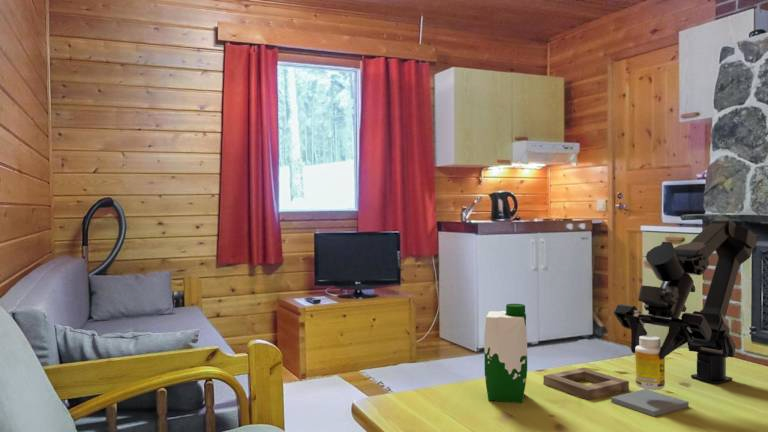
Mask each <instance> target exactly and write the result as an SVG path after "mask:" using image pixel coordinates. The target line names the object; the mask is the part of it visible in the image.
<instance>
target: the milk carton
mask: <svg viewBox="0 0 768 432" xmlns="http://www.w3.org/2000/svg"><path fill="white" fill-rule="evenodd" d="M527 331H528V330H527V315H526V305H525V304H522V303H507V304H506V305H505V310H501V311H493V310H492V311H491V310H489V311H488V312H487V314H486V316H485V324H484V332H483V333H484V335H483V336H484V337H483V338H484V339H483V340H484V341H483V342H484V344H483V345H484V346H483V347H484V380H485V386H486V387H485V388H486V394H487V400H488V401H490V400H495V401H494V402H502V403H503V402H504V403H505V402H506V403H519V404H523V402H524V401H523V399H524V397H525V389H526V385H527V378H528V376H527V375H528V334H527V333H528V332H527Z"/></svg>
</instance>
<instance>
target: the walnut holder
mask: <svg viewBox="0 0 768 432" xmlns="http://www.w3.org/2000/svg"><path fill="white" fill-rule="evenodd" d="M581 381H586V382H590V383H592V384H587V385H586V384H583V383H581ZM543 385H544V386H547V387H551V388H553V389H557V390H559V391H562V392H565V393H567V394H571V395H573V396H576V397H579V398H582V399H585V400H587V401H588V400H593V399H597V398H602V397H606V396H611V395H614V394H618V393H619V394H620V393H622V392H627V391H629V390H630V381H629V380H626V379H623V378H620V377H616V376H614V375H613V376H612V375H610V374H606V373H602V372H599V371H596V370H592V369H589V368H586V367H581V368H575V369H571V370H570V369H569V370H566V371H559V372H555V373H550V374H546V375H545V374H544V375H543Z"/></svg>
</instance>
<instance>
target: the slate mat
mask: <svg viewBox="0 0 768 432" xmlns="http://www.w3.org/2000/svg"><path fill="white" fill-rule="evenodd" d="M610 398H611V401H610V402H611V403H613V404H616V405H619V406H621V407H625V408H628V409H631V410H634V411H637V412H640V413H641V414H646V415H648V416H652V417H656V416H661V415H664V414H668V413H671V412H674V411H678V410H681V409H685V408H689V401H687V400H684V399H680V398H677V397H674V396H670V395H666V394H664V393H661V392H657V391H654V390H650V389H644V388H642V389H640V390H636V391H631V392H628V393H624V394H619V395H615V396H611V397H610ZM660 414H661V415H660Z"/></svg>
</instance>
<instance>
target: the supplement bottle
mask: <svg viewBox="0 0 768 432" xmlns="http://www.w3.org/2000/svg"><path fill="white" fill-rule="evenodd" d="M639 344H640V345H637V346H636V347H635V353H634V357H635V358H634V362H635V364H634V365H635V371H634V372H635V373H634V374H635V379H634V380H635V385H636V386H638V387H639V388H642V389H647V390H651V391H654V390H655V391H656V390H657V391H658V390H662V389H664V388H665V386H666V385H665V384H666V382H665V381H666V380H665V379H666V377H665V375H666V371H665V368H666V367H665V363H666V361H665V360H666V359H665V357H666V356H665V357H664V358H663V359H661V358H660V357H659V352H660V349H661V347H662V345H661V338H660V337H659V336H654V335H648V334H647V335H646V336H640V337H639Z"/></svg>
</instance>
